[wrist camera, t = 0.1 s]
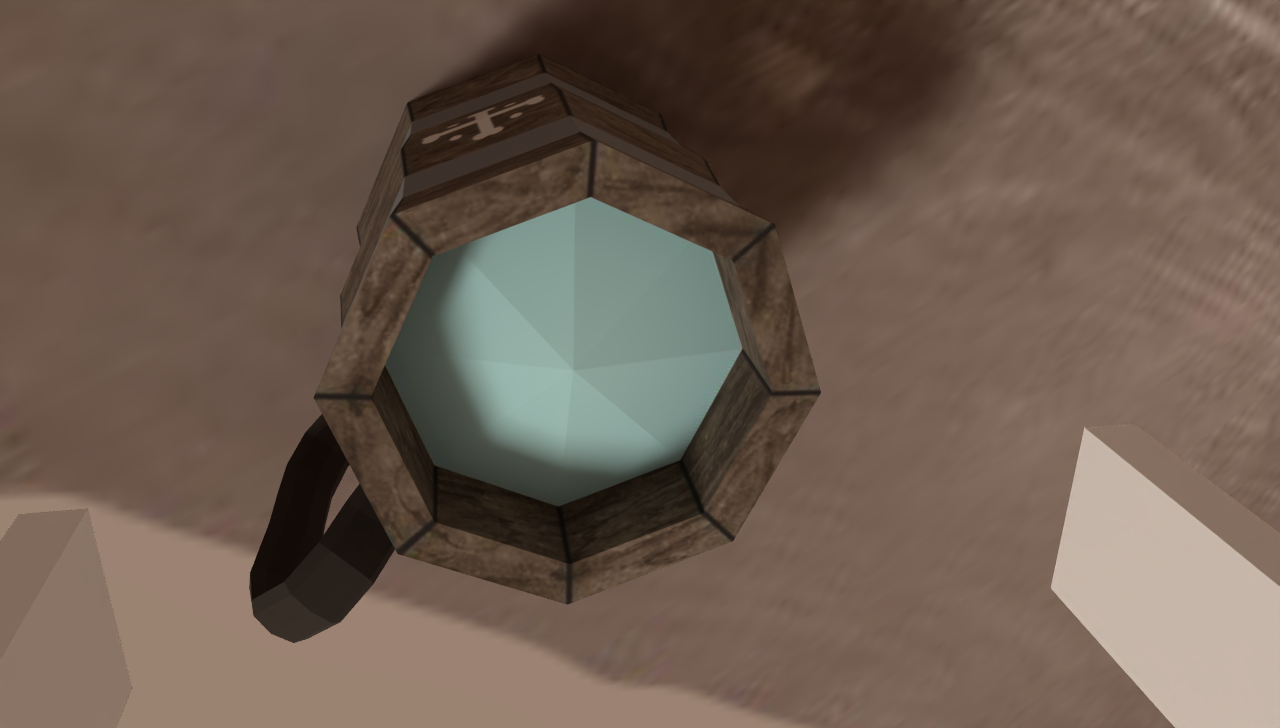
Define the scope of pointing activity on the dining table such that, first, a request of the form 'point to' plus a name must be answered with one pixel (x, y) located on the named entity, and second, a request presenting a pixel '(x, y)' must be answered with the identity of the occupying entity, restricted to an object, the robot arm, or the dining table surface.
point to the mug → (539, 358)
